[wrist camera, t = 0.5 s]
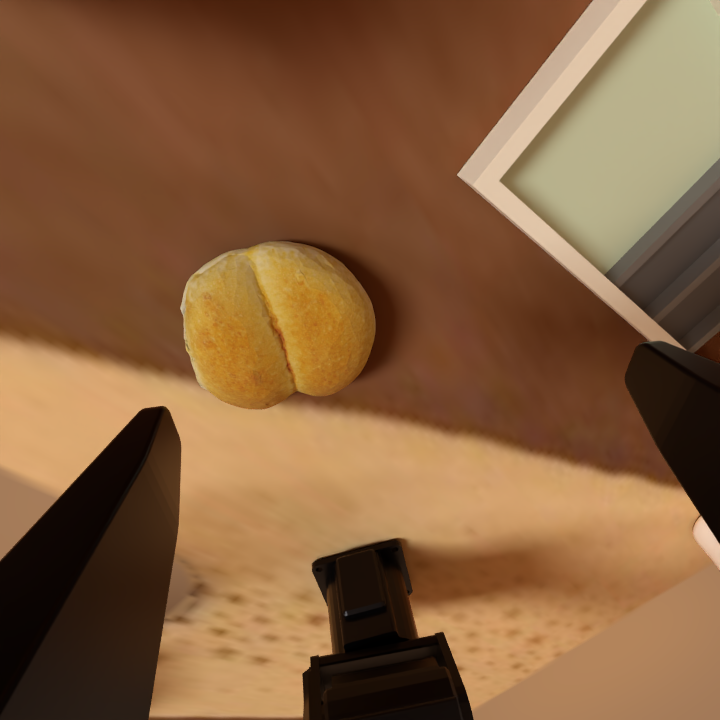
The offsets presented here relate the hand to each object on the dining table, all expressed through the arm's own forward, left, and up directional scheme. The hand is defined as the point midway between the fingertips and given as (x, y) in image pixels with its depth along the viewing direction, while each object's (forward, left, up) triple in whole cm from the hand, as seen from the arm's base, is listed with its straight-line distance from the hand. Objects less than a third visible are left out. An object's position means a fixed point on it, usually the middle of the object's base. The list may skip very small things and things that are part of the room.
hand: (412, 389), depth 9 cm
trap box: (-7, -19, -15) cm, 25 cm away
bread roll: (-5, +4, -15) cm, 16 cm away
